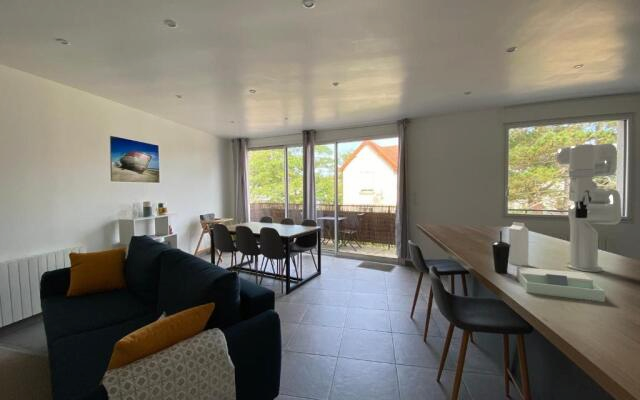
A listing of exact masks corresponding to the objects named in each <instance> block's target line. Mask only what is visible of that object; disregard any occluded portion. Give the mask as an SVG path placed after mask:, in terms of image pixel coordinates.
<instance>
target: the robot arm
mask: <svg viewBox="0 0 640 400" xmlns="http://www.w3.org/2000/svg"><path fill="white" fill-rule="evenodd" d="M556 161H557V163H558V164H559V165H561V166H562V165H569V166H568V178H569V180H570V182H569V190H568V191H569V192H568V199H569V201H570V202H573V203H574V204H572V205H570V206H568V208H567V215H568V216H567V217H568V220H569V228H570V230H569V234H570V235H569V240H570V241H569V243H570V244H569V261H568V262H566V263H565V266H566V268H569V269H572V270H575V271H579V272H589V273H590V272H591V273H598V272H602V271H603V267H601V266H599V263H598V262H599V232H598V231H597V229H595V228H594V227H593V226H592V225H595V224H596V225H618V224H619V223H620V222H621V220H622V199H621V194H620V192H619V191H618V190H617V189H613V188H598V187H599V186H598V184H597V183H596V182H595V181H594V180H593V178H595V177H609V176H611V177H612V176H613V175H615V174H616V171H617V169H618V168H617V167H618V151H617V148H616V146H615V145H614V144H612V143H600V144H589V143H587V144H585V143H584V144H575V145H573V146H570V147H562V148H559V149H558V150H557V151H556Z"/></svg>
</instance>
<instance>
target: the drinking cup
mask: <svg viewBox="0 0 640 400" xmlns="http://www.w3.org/2000/svg"><path fill="white" fill-rule="evenodd" d="M502 232H503V231H502V230H500V231H499V241H497V240H496V241H494V242H491V248H492V257H493V266H494V272H495V273H497V274H508V267H509V251H510V246H511V245H510V244H509V242H506V241H503V234H502Z"/></svg>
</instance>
